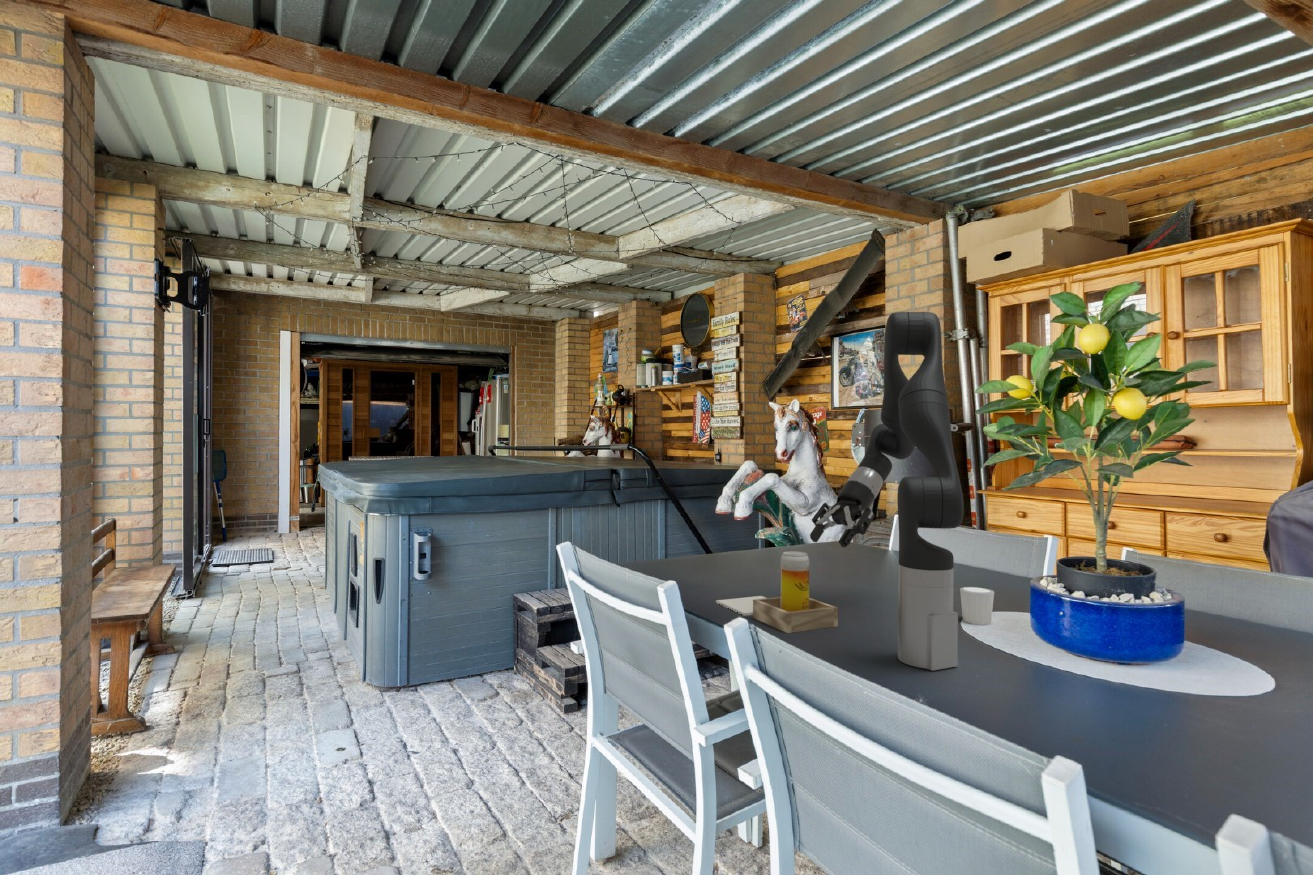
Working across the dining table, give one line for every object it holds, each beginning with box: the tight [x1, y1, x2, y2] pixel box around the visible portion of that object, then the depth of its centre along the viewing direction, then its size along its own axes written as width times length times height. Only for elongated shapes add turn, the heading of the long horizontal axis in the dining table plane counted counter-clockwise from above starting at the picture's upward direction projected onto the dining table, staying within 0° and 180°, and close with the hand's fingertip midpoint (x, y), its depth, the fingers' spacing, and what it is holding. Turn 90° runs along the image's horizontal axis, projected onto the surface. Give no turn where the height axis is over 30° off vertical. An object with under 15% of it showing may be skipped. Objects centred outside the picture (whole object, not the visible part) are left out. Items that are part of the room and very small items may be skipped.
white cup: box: [959, 586, 995, 626], centre depth 150 cm, size 7×7×7 cm
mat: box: [715, 595, 767, 617], centre depth 161 cm, size 13×13×1 cm
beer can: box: [779, 550, 810, 612], centre depth 147 cm, size 6×6×15 cm
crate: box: [752, 596, 839, 634], centre depth 147 cm, size 13×13×4 cm
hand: (827, 542), depth 153 cm, fingers open, 8 cm apart
